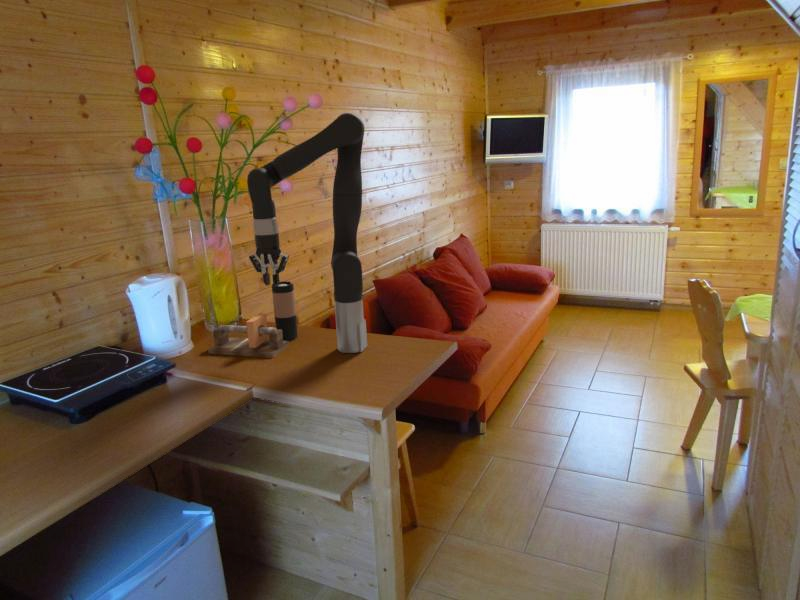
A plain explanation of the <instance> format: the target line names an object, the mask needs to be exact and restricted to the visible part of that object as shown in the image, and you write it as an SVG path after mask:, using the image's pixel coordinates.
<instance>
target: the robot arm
mask: <svg viewBox="0 0 800 600" xmlns="http://www.w3.org/2000/svg"><path fill="white" fill-rule="evenodd" d="M364 124H365V123H363V120H362V118H360V117H359V116H358V115H356V114H355V113H351V112H344V113H342V114H340V115H339V116H337V117H336V118H335V119H334V120H333V121H332V122H331V123H329V124H328V125H326V127H325V128H323V129H322V130H321V131H319V132H318V133H316V134H315V135H313V136H312V137H310V138H308V139H307V140H305V141H302V142H301V143H299V144H296V145H295V146H293V147H292V148H289V149H288V150H286V151H284V152H282V153H281V154H279V155H277V156H276V157H275V158H274V159H273V160H271V161H270V162H267V163H266V164H264V165H262V166H260V167H258V168H257V167H256V168H254V169H251V170H250V172H249V173H248V174H247V178H246V184H247V190H248V195H249V198H250V202H251V209H252V217H253V233H254V234H253V235H254V244H255V248H256V250H255V253H253V254H250V255H249V256H248V259H249V261H250V262H251V264H252V266H253V267H254V269H255V272H256V273H261V274H262V282H263V284H264V285H265V286H269V285H271V278H270V277H271V276H270V273H269V267H270V268H271V273H272V274H271V275H272V284H273V285H274V286H276V285H278V283H279V282H281V281H280V273H281V272H282V273H283V272H284V271H285V269H286V265H287V263H288V261H289V258H290V255H289V254H284V253H282V250H281V249H280V235H279V226H278V220H277V213H276V211H277V210H276V205H275V202H274V201H275V200H273V198H272V191H271V188H273V187H274V186H276V185H278V184H279V183H281V182H282V181H283V180H285V179H287V178H289V177H292V176H293V175H296V174H297V173H299V172H300V171H301V172H302V170H304V169H305V168H307V167H308V166H310V165H311V164H314V162H316V161H317V160H319V159H321V158H322V157H323V156H324V155H327V153H330V152H332V151H333V150H337V162H336V168H335V172H334V178H333V187H332V219H333V220H332V221H333V236H334V237H333V245H332V247H333V248H332V252H331V254H332V255H331V259H330V260H331V261H330V266H331V270H332V275H333V276H332V277H333V298H334V301H333V302H334V312H335V313H334V316H335V328H336V340H337V341H336V342H337V351H338V352H339V353H343V354H356V353H362V352H364V350H365V349H366V348H367V347H368V337H367V336H368V335H367V323H366V322H367V320H366V319H365V318H364V304H363V303H364V302H363V290H364V288H363V287H364V285H363V284H364V283H363V267H362V262H361V260H360V257H359V256H358V247H357V246H358V245H357V244H358V243H357V242H358V241H357V240H358V239H357V236H358V234H357V233H358V228H359V224H360V219H361V216H362V207H363V206H362V205H363V177H362V165H361V164H362V161H361V160H362V150H363V144H364V143H363V142H364V137H365V130H366V129H365V125H364ZM279 259H280V260H279ZM279 261H280V262H279Z"/></svg>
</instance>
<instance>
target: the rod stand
mask: <svg viewBox="0 0 800 600" xmlns="http://www.w3.org/2000/svg"><path fill="white" fill-rule="evenodd" d="M212 332H213V341H214V342H213V343H214V345H213V346H211V347H209V348H207V349H208V354H211V355H224V356H225V355H228V356H240V357H241V356H242V357H259V358H272V359H273V358H274V357H276V356H277V355H278V354H280V353H281V352H282V351H283V350H285V349H286V348H287V347H290V341H283V334H282V330H280V329H276V327H270V326H269V327H268V326H267V327H258V332H259V334H268V336H269V339H268V340H266V341H265V342H263V343H262V344H260V345H259V346H258V347H256V348H252V347H249V340H248V337H246V338H245V337H244V338H243V337H229V333H233V334H234V333H235V334H248V332H247V325H230V324H229V325H228V324H219V325H218V327H216V328H213V330H212Z"/></svg>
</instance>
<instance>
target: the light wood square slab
mask: <svg viewBox="0 0 800 600" xmlns="http://www.w3.org/2000/svg"><path fill="white" fill-rule="evenodd" d="M267 319H268V318H267V314H266V313H258V314H256V315H255V316H253V317H251V318H250V319H249V320H247V321H246V326H247V332H248V333H247V338H248V340H249V347H252V348H256V347H258V346H259V345H260V344H262V343H263V342H265V341H266V340H269V335H268V334H259V332H258V327H268V320H267Z"/></svg>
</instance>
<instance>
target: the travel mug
mask: <svg viewBox="0 0 800 600" xmlns="http://www.w3.org/2000/svg"><path fill="white" fill-rule="evenodd" d="M294 289H295V287H294V283H291V281H280V282H279V283H278V285H276V286H274V285H273V283H272V284H271V293H272V303H273V314H274V320H275V321H274V322H275V323H274V324H275V328H276V329H280V330H282V334H283V341H289V342H290V341H293V340H296V339H297V338H298V336H299V335H298V320H297V317H298V316H297V309H296V308H297V306H296V299H295V298H296V297H295V290H294Z"/></svg>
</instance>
